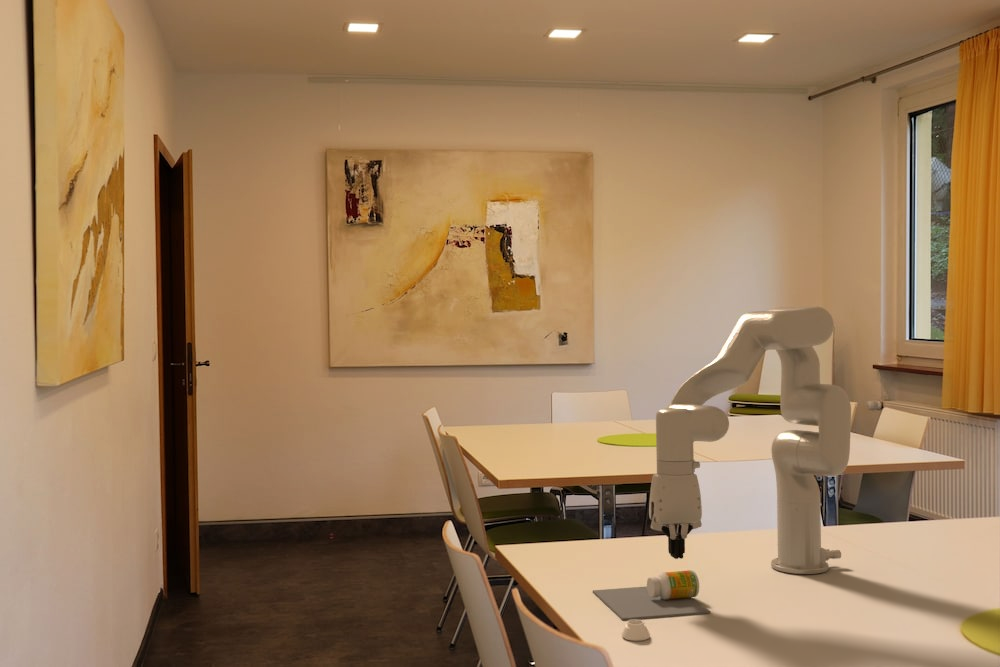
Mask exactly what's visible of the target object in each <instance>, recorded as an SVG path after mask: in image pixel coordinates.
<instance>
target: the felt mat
mask: <svg viewBox="0 0 1000 667" xmlns="http://www.w3.org/2000/svg"><path fill="white" fill-rule="evenodd" d="M592 593H593V594H594V595H595V597H597V598H598V599H599V600H600V601H601V602H602V603H603V604H605V606H607V608H609V609H610V610H611V611H612V612H613V613H614V614H615V616H617V617H618V618H619V619H620V620H621V621H629V620H643V619H644V620H645V619H655V618H656V619H657V618H658V619H659V618H667V617H668V618H669V617H680V616H682V617H683V616H694V615H706V614H707V615H709V614H712V612H711V610H710V609H708V608H707V607H706V606H704V605H703V604H702V603H700V602H698V600H696V599H694V597H690V598H679V599H669V600H664V599H662V598H661V597H660V596H659V597H650V596H649V594H648V591H647V585H646V586H635V587H634V586H633V587H622V588H608V589H607V588H605V589H593V590H592Z"/></svg>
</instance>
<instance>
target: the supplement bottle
mask: <svg viewBox="0 0 1000 667" xmlns="http://www.w3.org/2000/svg"><path fill="white" fill-rule="evenodd" d="M646 586H647V591H648V594H649V596H650V597H659V596H660V597H661V598H662V599H664V600H669V599H679V598H690V597H691V598H696V597H698V595H699V593H700V581H699V578H698V575H697V573H696V572H695V571H694V570H690V569H689V570H688V569H687V570H681V571H680V570H677V571H667V572H661V573H658V575H656V576H651V577H648V578H647V581H646Z"/></svg>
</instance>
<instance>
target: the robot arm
mask: <svg viewBox="0 0 1000 667" xmlns="http://www.w3.org/2000/svg"><path fill="white" fill-rule="evenodd" d="M834 326H835V325H834V319H833V317H832V314H831V313H830V312H829V311H828V309H826V308H824V307H822V306H785V307H773V308H771V309H767V310H759V311H758V310H757V311H756V310H755V311H749V312H748V311H747V312H746V313H743V314H742V315H741V316H740V317H739V318H738V319H737V320H736V322H735V324H734V326H733V328H732V329H731V331H730V332H729V334H728V335H727V338H726V340H725V341H724V343H723V344H722V346H721V348H720V349H719V350H718V352H717V355H716V356H715V358H714V359H713V360H712V361H711V362H710V363H708V364H707V365H705V366H704V367H702V368H701V369H700V370H699V371H697V372H695V373H694V374H693V375H692V376H690V377H688V378H687V380H685V381H684V382H683V383H682V384H681V385H680V386H679V388H678V389H677V391H676V392H675V393H674V395H673V397H672V399H671V400H670V402H669V404H668V406H667V407H666V408H665V407H664V408H661V409H659V410H657V412H656V414H655V434H656V435H655V442H656V445H655V446H656V447H655V448H656V451H655V452H656V473H655V474H652V478H651V481H650V482H651V484H650V493H649V503H648V504H649V505H648V506H649V508H648V516H649V519H650V520H651V524H650V529H651V530H654V531H658V532H662V533H663V534H664V535H666V538H667V537H668V538H667V540H668V541H667V544H668V549H667V550H668V554H669V555H670V556H671V557H672V558H673V559H675V560H678V559H680V560H682V559H684V554H685V553H686V545H685V544H686V539H687V538H688V535H689V534H690V533H691V532H692V530H695V529H699V528H701V527H702V526H703V524H702V516H703V511H702V510H703V509H702V508H703V506H702V496H701V490H700V483H699V480H698V475H697V474H696V473H695V472H696V471H695V469H699V468H700V467H701V463H700V462H699V461H697V460H695V459H694V442H708V443H712V442H716V441H719V440H721V439H722V438H724V437H725V435H727V433H728V431H729V428H730V419H729V418H728V415H727V414H726V412H725V411H724V410H722V409H721V408H719V407H717V406H713V405H704V404H705V403H706V402H707V401H708V400H711V399H712V398H713V397H715V396H718V395H720V394H722V393H725V392H729V391H731V390H734V389H736V388H739V387H741V386H743V385H745V384H746V383H748V382H749V380H750V378H751V377H752V375H753V374H754V371H755V369H756V368H757V366H758V364H759V363H760V361H761V360H762V357H763V356H764V355H765V352H767V351H770V350H771V351H772V350H773V351H774V350H775V351H776V353H777V354H778V356H779V360H780V365H781V368H780V369H781V374H780V375H781V376H780V379H781V381H780V400H779V401H780V402H779V403H780V405H779V406H780V414H781V416H782V418H783V419H784V420H785V421H786V422H788V423H790V424H794V425H795V424H796V425H804V426H814V427H815V426H816V427H818V431H811V430H803V429H801V430H799V429H790V430H789V429H788V430H784V431H781V432H780V433H778V434H777V435H776V436H775V438H774V439H773V441H772V443H771V449H770V450H771V459H772V462H773V463H772V464H773V467H774V471H775V479H776V509H777V510H776V516H777V518H776V520H777V522H776V523H777V524H776V525H777V557H776V558H775V557H774V558H773V559H772V560H771V562H770V565H771V566H770V567H771V568H773V570H776V571H779V572H782V573H787V574H796V575H817V574H822V573H825V572H828V571H829V563H828V562H827V561H829V560H830V559H832V560H834V559H835V560H836V559H837V560H839V559H841V558H842V552H841V550H839V549H834V550H833V549H832V550H830V548H828V549H827V548H823V547H822V526H821V524H822V523H821V521H822V520H821V519H822V518H821V517H822V516H821V491H820V487H819V483H818V481H817V479H816V477H815V475H817V476H824V477H838V476H840V475H841V474H843V473H844V472H845V471H846V469H847V467H848V464H849V462H850V461H849V460H850V452H851V451H850V450H851V428H852V426H851V425H852V406H851V405H852V404H851V400H850V398H849V395H848V394H847V391H845V390H844V388H842V387H841V386H839V385H837V384H836V385H835V384H830V383H829V384H828V383H827V384H826V383H821V366H820V365H821V364H820V359H819V355H818V354H817V352H816V350H815V348H814V347H815V346H820V345H822V344H825V343H826V342H827V341H828V340H829V339H830V338H831V336H832V334H833V332H834V328H835V327H834ZM675 525H677V526H676V527H677V528H676V527H675Z"/></svg>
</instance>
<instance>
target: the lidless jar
mask: <svg viewBox="0 0 1000 667" xmlns="http://www.w3.org/2000/svg"><path fill="white" fill-rule="evenodd" d="M626 621H627V622H626V624H625V626H624V627H623V629H622V632H621V637H622V638H623V639H625V640H627V641H631V642H643V641H646V640H648V639H649V638H650V637H651V633H650V632H649V631H650V630H649V629H648V628H647V625H645V622H644V621H643V619H633V620H626Z"/></svg>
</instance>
